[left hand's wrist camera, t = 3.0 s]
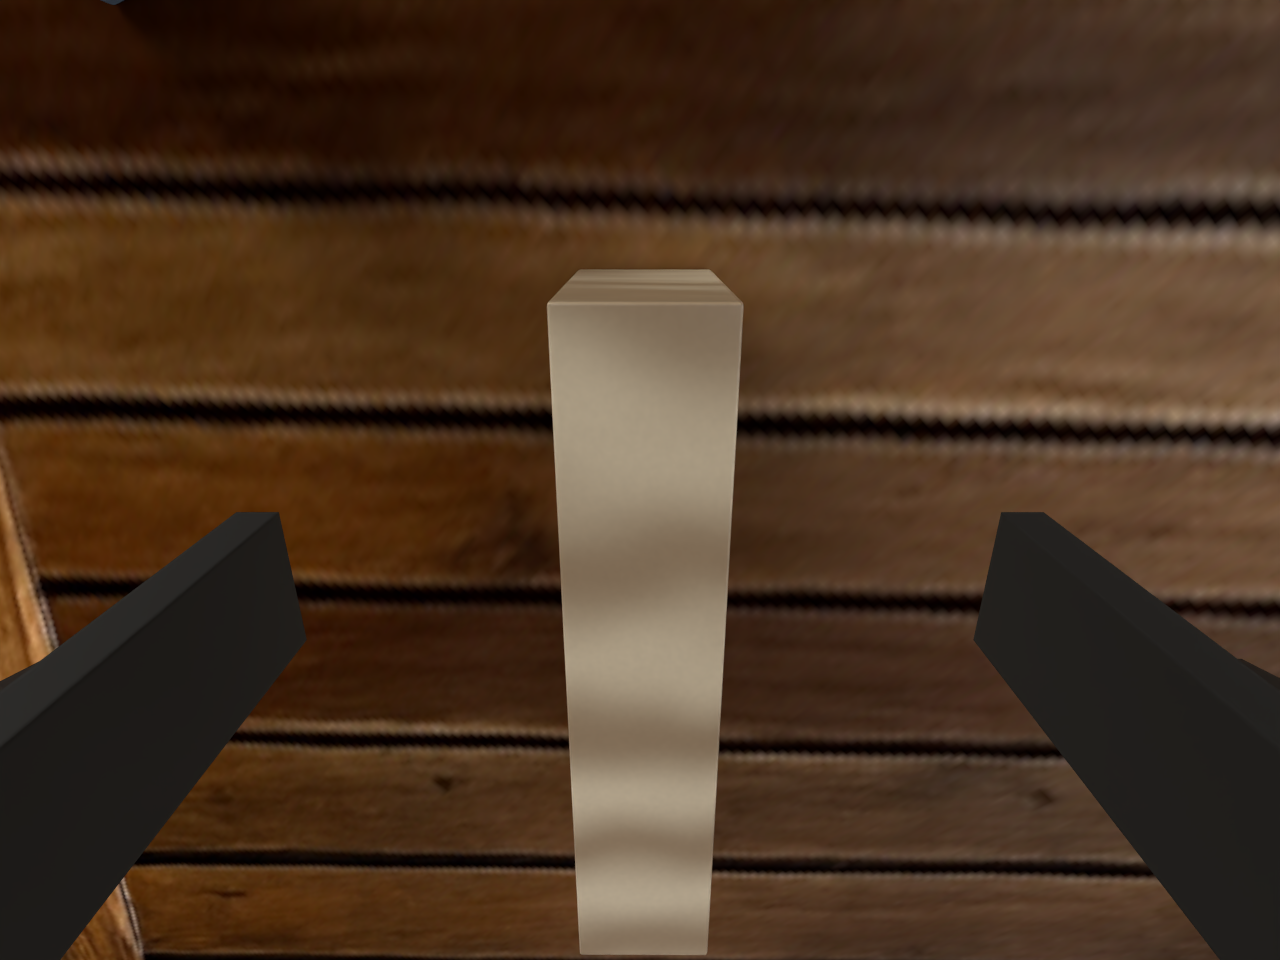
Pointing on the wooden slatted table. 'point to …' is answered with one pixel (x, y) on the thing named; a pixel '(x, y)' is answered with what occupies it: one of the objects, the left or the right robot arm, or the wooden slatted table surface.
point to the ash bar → (644, 590)
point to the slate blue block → (112, 1)
